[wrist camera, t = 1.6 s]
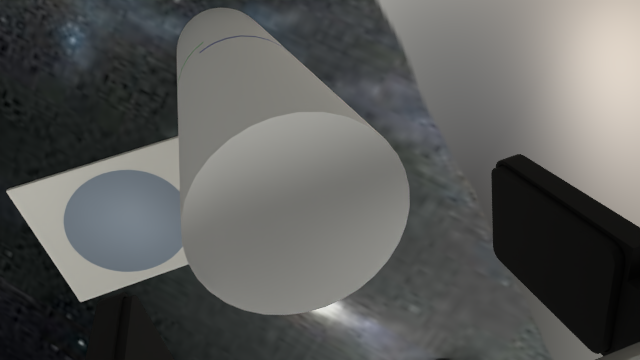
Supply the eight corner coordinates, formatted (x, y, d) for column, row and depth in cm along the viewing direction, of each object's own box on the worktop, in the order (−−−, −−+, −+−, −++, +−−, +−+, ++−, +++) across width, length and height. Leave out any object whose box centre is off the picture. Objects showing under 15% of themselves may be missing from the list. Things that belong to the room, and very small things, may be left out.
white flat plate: (230, 246, 43) (231, 249, 43) (81, 299, 41) (80, 303, 41) (184, 133, 37) (185, 135, 37) (7, 188, 35) (5, 191, 35)
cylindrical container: (284, 76, 37) (433, 250, 16) (206, 116, 37) (250, 347, 16) (245, -10, 34) (368, 66, 12) (157, 33, 33) (127, 188, 12)
